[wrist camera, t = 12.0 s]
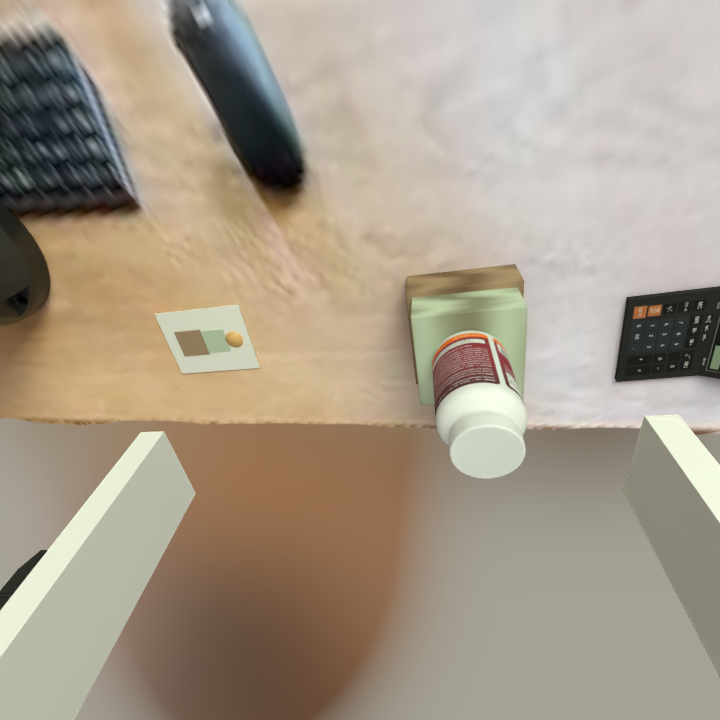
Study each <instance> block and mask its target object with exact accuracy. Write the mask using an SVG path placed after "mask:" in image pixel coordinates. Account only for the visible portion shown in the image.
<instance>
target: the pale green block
mask: <svg viewBox="0 0 720 720" xmlns="http://www.w3.org/2000/svg"><path fill="white" fill-rule="evenodd" d="M523 292H524V280H523V278H522V276H521V274H520V273H519V271H518V269H517V267H516V265H515V264H514V265H505V266H496V267H487V268H478V269H470V270H461V271H452V272H443V273H434V274H425V275H416V276H407V283H406V299H407V308H408V317H409V325H410V334H411V342H412V351H413V359H414V368H415V376H416V384H419V392H420V400H421V405H425V404H435V402H434V388H433V372H432V360H433V356H434V353H435V351H436V349H437V347H438V346H439V345H440V344H441V343H442V342H443V341H444V340H445V339H446V338H448V337H449V336H451V335H453V334H456V333H459V332H462V331H481V332H485V333H488V334H490V335H492V336H493V337H495V338H496V339H498V340H499V341H500V342H501V344H502V345H503V347H504V348H505V351H506V353H507V355H508V358H509V361H510V364H511V367H512V370H513V373H514V376H515V379H516V382H517V384H518V387H519V390H520V393H521V396H522V399H523V393H524V372H525V351H526V329H527V308H528V307H527V305H526V303H525V301H524V299H523Z"/></svg>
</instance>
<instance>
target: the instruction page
mask: <svg viewBox="0 0 720 720" xmlns="http://www.w3.org/2000/svg"><path fill="white" fill-rule="evenodd" d="M155 317H156V319H157V321H158V323H159V325H160V327H161V329H162V332H163V334H164V336H165V338H166V340H167V342H168V344H169V347H170V349H171V351H172V353H173V355H174V357H175V359H176V362H177V364H178V366H179V368H180V370H181V372H182V374H186V373H199V372H212V371H225V370H238V369H251V368H260V364H259V362H258V359H257V356H256V353H255V350H254V347H253V344H252V341H251V338H250V336H249V333H248V330H247V327H246V324H245V321H244V318H243V315H242V312H241V310H240V307H239V304H238V305H229V306H220V307H210V308H201V309H192V310H183V311H173V312H164V313H155Z"/></svg>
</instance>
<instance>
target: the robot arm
mask: <svg viewBox="0 0 720 720" xmlns="http://www.w3.org/2000/svg"><path fill="white" fill-rule="evenodd" d="M48 291H49V276H48V270H47V267H46V263H45V261H44V258H43V256H42V253H41V251H40V249H39V248H38V246H37V244H36V242H35V241H34V239H33V238H32V236H31V235H30V233H29V232H28V231H27V229H26V228H25V227H24V226H23V225H22V223H21V222H20V221H19V220H18V219H17V218H16V217H15V216H14V215H13V214H12V213H11V212H10V211H9V210H8V209H7V208H5V207H4V206H3V205H2V204H0V326H4V325H9V324H12V323H15V322H18V321H20V320H22V319H24V318H25V317H27V316H29V315H31V314H32V313H34V312H36V311H37V310H38V309H40V307H41V306H42V305H43V304H44V302H45V300H46V298H47V295H48ZM623 492H624V494H625V496H626V498H627V499H628V501H629V503H630V505H631V507H632V509H633V511H634V513H635V515H636V517H637V519H638V521H639V523H640V524H641V526H642V528H643V530H644V532H645V534H646V536H647V538H648V540H649V542H650V544H651V546H652V548H653V550H654V551H655V553H656V555H657V557H658V559H659V561H660V563H661V565H662V567H663V569H664V571H665V572H666V575H667V576H668V578H669V580H670V582H671V584H672V586H673V588H674V590H675V592H676V594H677V596H678V598H679V600H680V602H681V603H682V605H683V607H684V609H685V611H686V613H687V615H688V617H689V619H690V621H691V623H692V625H693V627H694V629H695V630H696V632H697V634H698V636H699V638H700V640H701V642H702V644H703V646H704V648H705V650H706V651H707V654H708V656H709V658H710V659H711V661H712V663H713V665H714V667H715V669H716V671H717V673H718V675H719V677H720V465H719V464H718V463H717V462H716V460H715V459H714V458H713V456H712V455H711V454H710V453H709V452H708V450H707V449H706V448H705V447H704V445H703V444H702V443H701V442H700V440H699V439H698V438H697V437H696V435H695V434H694V433H693V432H692V431H691V429H690V428H689V427H688V426H687V424H686V423H685V422H684V421H683V419H682V418H681V417H680V416H679V415H658V416H644V420H643V423H642V427H641V430H640V434H639V437H638V441H637V444H636V448H635V451H634V455H633V458H632V461H631V465H630V469H629V472H628V476H627V479H626V482H625V486H624V489H623ZM194 495H195V491H194V489H193V488H192V485H191V483H190V482H189V480H188V478H187V476H186V474H185V472H184V470H183V468H182V466H181V464H180V462H179V460H178V458H177V456H176V454H175V452H174V450H173V448H172V446H171V444H170V442H169V440H168V438H167V436H166V434H165V433H164V432H141V433H140V434H139V435H138V437H137V438H136V439H135V440H134V442H133V443H132V444H131V446H130V447H129V448H128V449H127V451H126V452H125V453H124V454H123V456H122V457H121V458H120V460H119V461H118V462H117V463H116V465H115V466H114V467H113V468H112V470H111V471H110V472H109V473H108V475H107V476H106V477H105V479H104V480H103V481H102V482H101V484H100V485H99V486H98V487H97V489H96V490H95V491H94V493H93V494H92V495H91V496H90V497H89V499H88V500H87V501H86V503H85V504H84V505H83V506H82V508H81V509H80V510H79V511H78V513H77V514H76V515H75V517H74V518H73V519H72V520H71V522H70V523H69V524H68V525H67V527H66V528H65V529H64V530H63V532H62V533H61V535H60V536H59V537H58V538H57V539H56V541H55V542H54V543H53V544H52V546H51V547H50V548H49V549H48V550H41V551H39V552H38V553H37V554H36V555H35V556H33V557H32V558H31V559H30V560H29V561H27V562H26V563H25V564H24V565H23V566H22V567H20V568H19V569H18V570H17V571H16V573H15V574H14V575H13V576H12V577H11V579H10V580H9V581H8V582H7V583H6V585H5V586H4V587H3V588H2V589H1V591H0V720H74V719H75V717H76V715H77V714H78V711H79V710H80V708H81V706H82V704H83V702H84V700H85V699H86V697H87V695H88V693H89V691H90V689H91V687H92V685H93V684H94V682H95V680H96V678H97V676H98V674H99V672H100V671H101V669H102V667H103V665H104V663H105V661H106V659H107V657H108V656H109V654H110V652H111V650H112V648H113V646H114V644H115V643H116V641H117V639H118V637H119V635H120V633H121V631H122V629H123V628H124V626H125V624H126V622H127V620H128V618H129V617H130V614H131V613H132V611H133V609H134V607H135V605H136V603H137V601H138V600H139V598H140V596H141V594H142V592H143V590H144V589H145V587H146V585H147V583H148V581H149V579H150V577H151V576H152V573H153V572H154V570H155V568H156V566H157V564H158V562H159V561H160V559H161V557H162V555H163V553H164V551H165V549H166V548H167V546H168V544H169V542H170V540H171V538H172V536H173V534H174V533H175V531H176V529H177V527H178V525H179V523H180V521H181V520H182V518H183V516H184V514H185V512H186V510H187V508H188V507H189V505H190V503H191V501H192V499H193V497H194Z"/></svg>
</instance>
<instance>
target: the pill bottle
mask: <svg viewBox="0 0 720 720" xmlns="http://www.w3.org/2000/svg"><path fill="white" fill-rule="evenodd" d="M432 372H433V388H434V402H435V417H436V427H437V430H438V433H439V435H440V437H441V438H442V440H443V441H444V442H445V443H446V444H447V445H448V446H449V452H450V458H451V461H452V463H453V464H454V466H455V467H456V468H457V469H459V470H460V471H461V472H463V473H464V474H466V475H469V476H472V477H476V478H485V479H488V478H497V477H501V476H503V475H506V474H508V473H510V472H512V471H514V470H515V469H516V468H517V467H518V466H519V465H520V464H521V463H522V461H523V459H524V457H525V451H526V449H525V444H524V439H523V434H524V432H525V430H526V426H527V412H526V408H525V404H524V402H523V399H522V396H521V393H520V390H519V387H518V384H517V382H516V379H515V376H514V373H513V370H512V367H511V364H510V361H509V358H508V355H507V353H506V351H505V348H504V347H503V345H502V344H501V342H500V341H499V340H498V339H496V338H495V337H493V336H492V335H490V334H488V333H485V332H481V331H462V332H459V333H456V334H453V335H451V336H449V337H448V338H446V339H445V340H444V341H443V342H442V343H441V344H440V345H439V346H438V347H437V349H436V351H435V353H434V356H433V360H432Z"/></svg>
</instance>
